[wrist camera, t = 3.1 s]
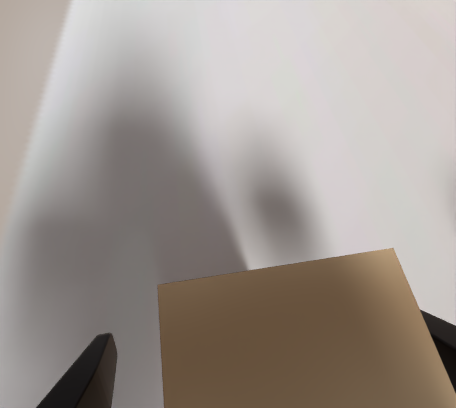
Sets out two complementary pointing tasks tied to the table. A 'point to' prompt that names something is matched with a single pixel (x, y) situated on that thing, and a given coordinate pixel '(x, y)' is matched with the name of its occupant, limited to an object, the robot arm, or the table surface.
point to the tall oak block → (300, 338)
